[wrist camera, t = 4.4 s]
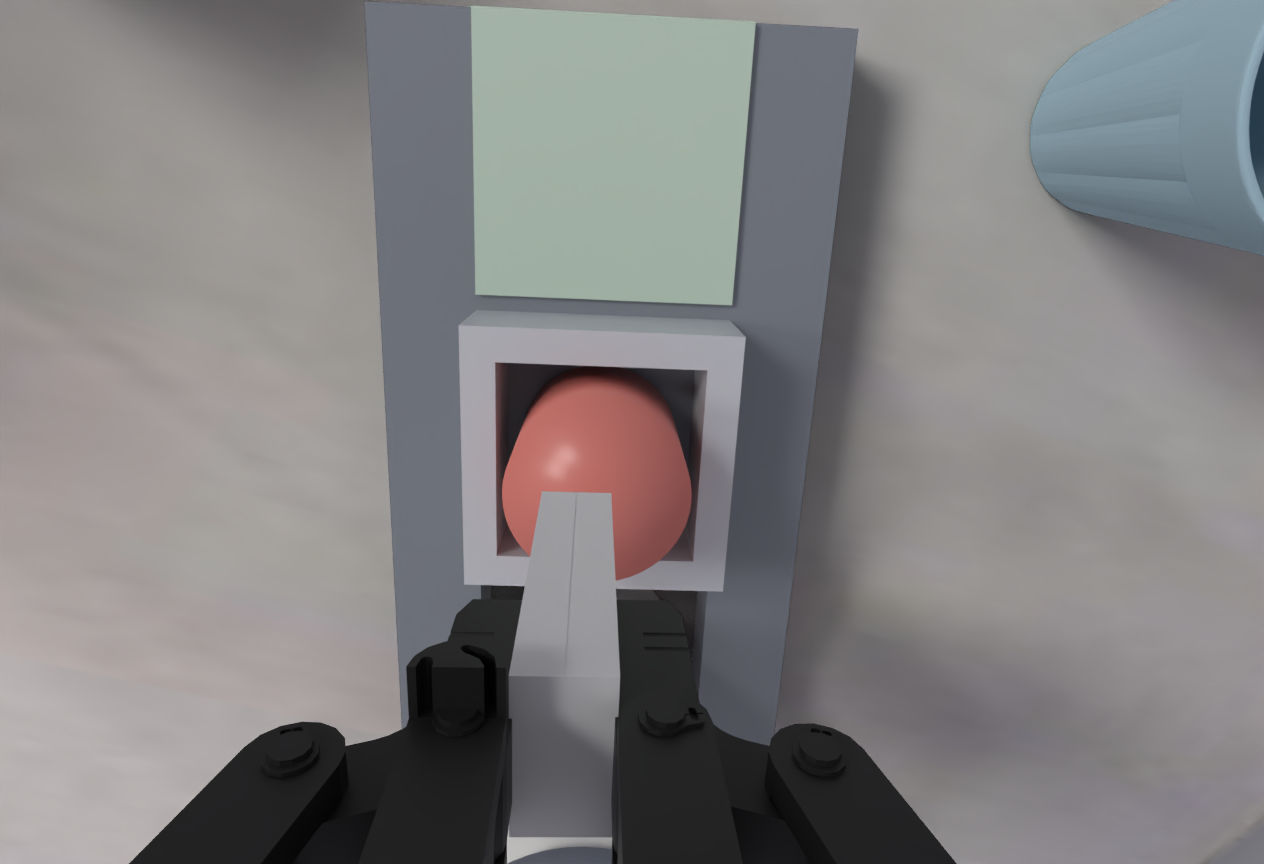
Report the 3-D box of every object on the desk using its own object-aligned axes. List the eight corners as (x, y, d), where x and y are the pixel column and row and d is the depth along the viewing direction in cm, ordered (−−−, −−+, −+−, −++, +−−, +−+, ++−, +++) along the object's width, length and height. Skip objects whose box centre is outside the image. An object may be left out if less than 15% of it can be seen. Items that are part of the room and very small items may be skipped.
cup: (1001, 269, 27) (1236, 312, 17) (984, 29, 24) (1245, -89, 14) (1220, 222, 26) (1594, 236, 16) (1225, -25, 24) (1660, -183, 14)
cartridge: (514, 697, 31) (433, 1123, 17) (515, 559, 29) (424, 906, 15) (666, 700, 31) (713, 1123, 17) (675, 564, 30) (737, 909, 15)
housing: (420, 744, 32) (382, 853, 26) (388, 20, 24) (326, -30, 19) (755, 750, 32) (783, 859, 27) (833, 45, 24) (895, 4, 19)
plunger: (522, 507, 26) (502, 579, 21) (523, 361, 24) (501, 402, 19) (671, 512, 26) (685, 585, 21) (680, 367, 24) (698, 409, 20)
